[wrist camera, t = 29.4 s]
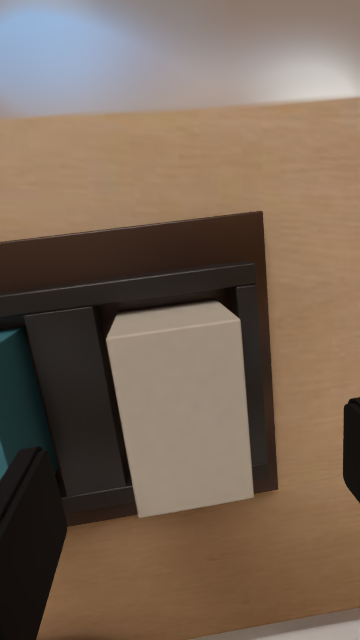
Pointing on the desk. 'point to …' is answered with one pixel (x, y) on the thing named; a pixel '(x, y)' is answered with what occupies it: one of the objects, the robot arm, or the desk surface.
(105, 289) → the back plate
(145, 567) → the desk surface
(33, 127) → the desk surface
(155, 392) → the cream pad
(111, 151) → the desk surface
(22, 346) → the teal pad
